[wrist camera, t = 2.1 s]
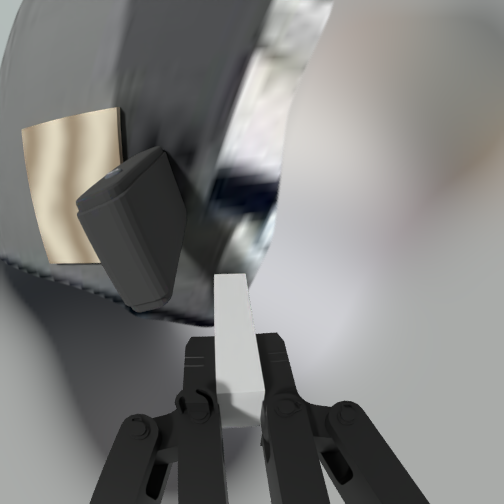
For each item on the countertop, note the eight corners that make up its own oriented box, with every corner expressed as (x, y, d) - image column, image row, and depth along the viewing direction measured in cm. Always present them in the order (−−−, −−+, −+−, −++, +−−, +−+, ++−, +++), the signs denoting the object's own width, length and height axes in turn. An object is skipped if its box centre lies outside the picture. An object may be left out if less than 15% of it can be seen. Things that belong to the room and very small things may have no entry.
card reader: (129, 153, 27) (60, 204, 14) (163, 139, 27) (114, 180, 14) (158, 226, 31) (124, 318, 19) (191, 216, 31) (174, 306, 18)
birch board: (119, 106, 24) (116, 107, 23) (136, 257, 33) (135, 262, 32) (26, 128, 23) (21, 129, 22) (52, 259, 32) (49, 263, 31)
